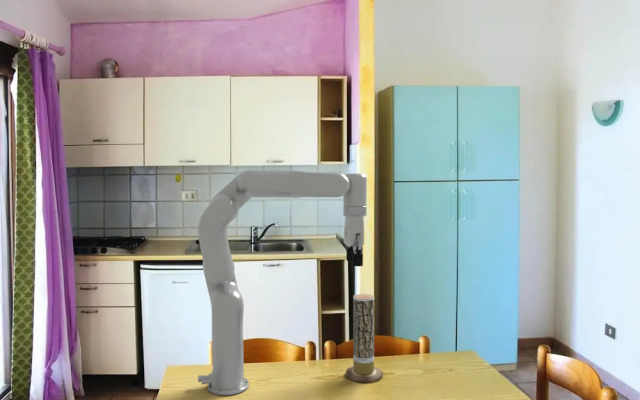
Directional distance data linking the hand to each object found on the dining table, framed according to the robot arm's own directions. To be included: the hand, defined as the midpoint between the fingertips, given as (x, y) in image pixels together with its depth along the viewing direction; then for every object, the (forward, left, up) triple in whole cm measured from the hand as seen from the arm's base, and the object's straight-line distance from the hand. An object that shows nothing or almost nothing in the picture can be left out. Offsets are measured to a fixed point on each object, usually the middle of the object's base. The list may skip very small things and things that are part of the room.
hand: (354, 263), depth 174 cm
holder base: (+3, -2, -37) cm, 37 cm away
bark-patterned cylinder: (+3, -3, -36) cm, 36 cm away
